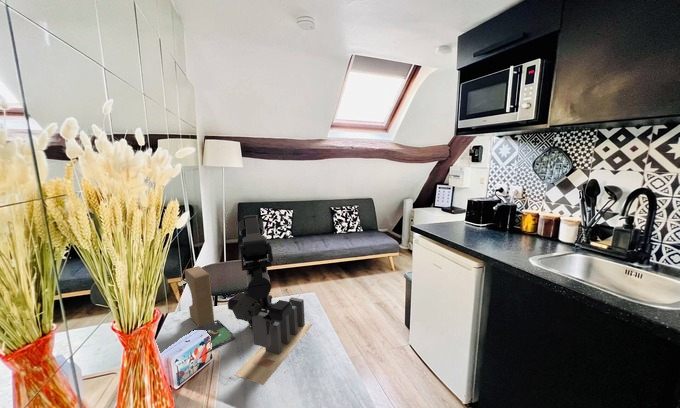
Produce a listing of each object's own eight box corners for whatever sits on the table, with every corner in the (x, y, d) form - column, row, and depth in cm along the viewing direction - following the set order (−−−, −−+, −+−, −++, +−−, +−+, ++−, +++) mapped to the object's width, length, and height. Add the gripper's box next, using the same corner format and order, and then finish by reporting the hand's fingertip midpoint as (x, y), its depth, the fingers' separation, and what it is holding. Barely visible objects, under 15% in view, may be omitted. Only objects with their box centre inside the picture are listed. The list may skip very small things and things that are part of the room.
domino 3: (287, 344, 91) (285, 316, 89) (274, 341, 93) (272, 314, 91) (290, 341, 92) (288, 314, 91) (277, 338, 94) (275, 311, 93)
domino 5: (295, 335, 96) (294, 308, 94) (283, 332, 97) (281, 306, 96) (297, 333, 97) (296, 306, 95) (285, 330, 99) (283, 304, 97)
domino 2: (279, 355, 86) (277, 325, 85) (265, 351, 88) (263, 322, 87) (281, 351, 88) (280, 322, 86) (268, 348, 90) (266, 319, 88)
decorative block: (190, 317, 111) (184, 269, 107) (205, 311, 114) (199, 265, 111) (198, 329, 103) (192, 278, 99) (214, 322, 106) (209, 273, 103)
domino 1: (267, 348, 81) (265, 316, 79) (253, 344, 83) (251, 313, 81) (271, 344, 82) (268, 313, 81) (257, 340, 84) (254, 310, 82)
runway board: (234, 378, 79) (234, 374, 79) (289, 322, 106) (288, 319, 105) (263, 388, 75) (263, 384, 75) (312, 327, 102) (312, 324, 102)
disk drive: (188, 339, 98) (205, 358, 88) (187, 331, 98) (204, 350, 88) (218, 325, 106) (236, 342, 95) (217, 319, 105) (235, 335, 95)
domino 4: (302, 327, 100) (301, 301, 98) (290, 324, 102) (289, 299, 100) (304, 324, 102) (303, 299, 100) (292, 322, 103) (291, 297, 102)
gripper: (210, 290, 75) (216, 342, 78) (268, 301, 68) (272, 358, 71) (239, 273, 85) (243, 320, 88) (291, 282, 79) (294, 332, 81)
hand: (261, 332), depth 82 cm, fingers closed on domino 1, 5 cm apart
